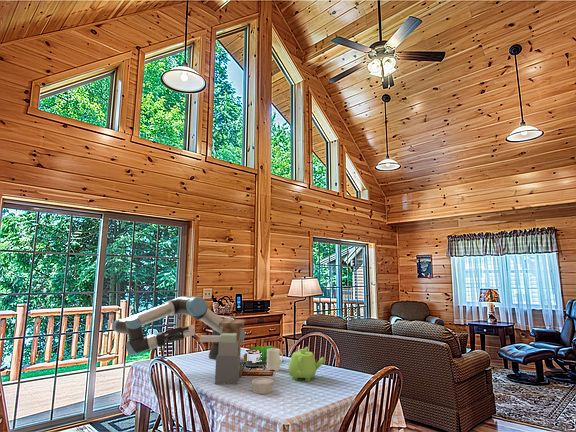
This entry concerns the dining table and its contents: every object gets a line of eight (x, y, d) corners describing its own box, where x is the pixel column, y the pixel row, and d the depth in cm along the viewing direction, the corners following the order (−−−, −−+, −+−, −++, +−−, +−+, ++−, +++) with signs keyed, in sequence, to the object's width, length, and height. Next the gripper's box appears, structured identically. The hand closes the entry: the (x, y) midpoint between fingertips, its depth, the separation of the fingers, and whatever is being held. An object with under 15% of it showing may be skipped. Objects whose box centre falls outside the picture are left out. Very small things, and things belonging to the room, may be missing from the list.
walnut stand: (216, 377, 215) (218, 323, 220) (220, 368, 235) (222, 319, 239) (241, 377, 216) (242, 323, 220) (243, 368, 235) (245, 319, 240)
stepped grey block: (214, 384, 201) (216, 343, 204) (217, 378, 213) (219, 339, 216) (237, 384, 202) (238, 343, 205) (239, 378, 214) (240, 339, 217)
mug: (279, 366, 243) (279, 347, 245) (286, 369, 236) (287, 349, 238) (263, 368, 237) (264, 348, 238) (270, 371, 230) (271, 351, 231)
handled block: (198, 342, 206) (199, 335, 207) (201, 340, 214) (201, 332, 214) (235, 343, 207) (235, 335, 207) (236, 340, 215) (236, 333, 215)
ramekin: (261, 387, 198) (262, 376, 199) (278, 391, 191) (278, 380, 192) (246, 392, 189) (247, 380, 190) (263, 396, 182) (263, 385, 183)
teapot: (323, 385, 204) (324, 354, 206) (285, 382, 208) (285, 352, 210) (328, 373, 228) (328, 346, 230) (293, 371, 232) (293, 344, 235)
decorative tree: (243, 344, 249) (276, 338, 270) (239, 360, 251) (272, 352, 272) (253, 354, 241) (286, 346, 262) (248, 370, 243) (282, 361, 264)
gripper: (159, 351, 219) (196, 340, 226) (155, 342, 198) (196, 330, 205) (157, 338, 222) (193, 328, 229) (153, 328, 201) (193, 317, 208)
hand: (194, 329), depth 217 cm, fingers open, 13 cm apart
